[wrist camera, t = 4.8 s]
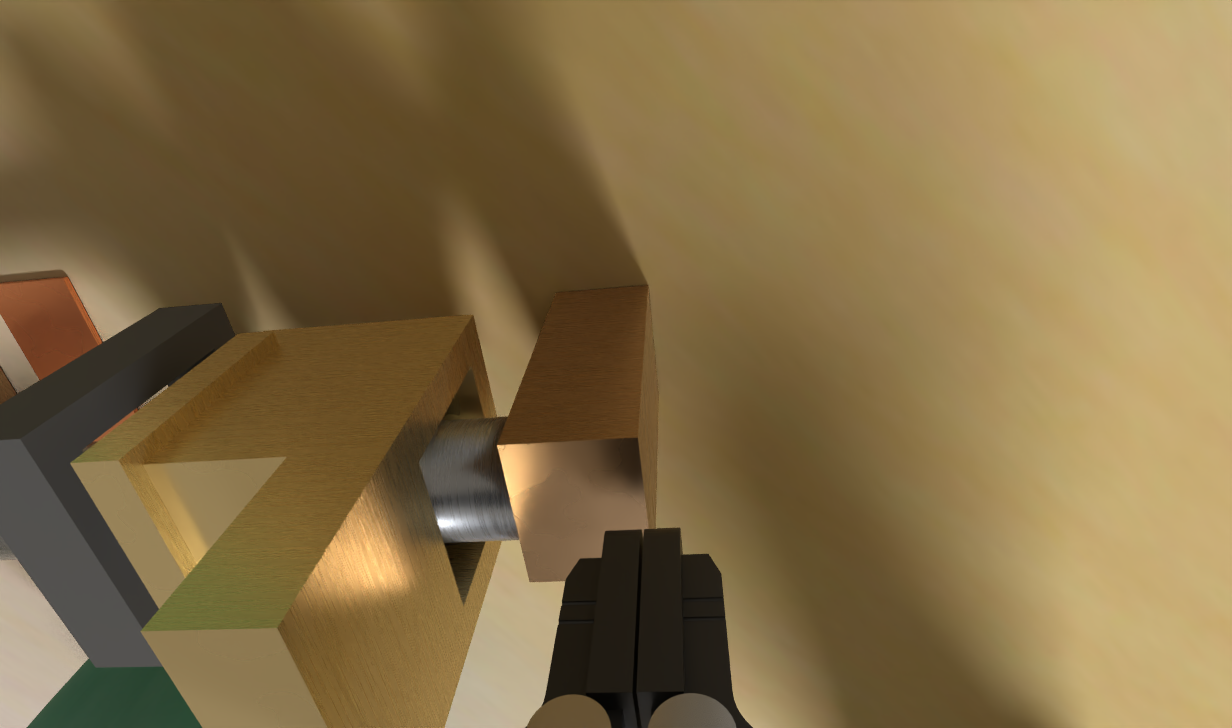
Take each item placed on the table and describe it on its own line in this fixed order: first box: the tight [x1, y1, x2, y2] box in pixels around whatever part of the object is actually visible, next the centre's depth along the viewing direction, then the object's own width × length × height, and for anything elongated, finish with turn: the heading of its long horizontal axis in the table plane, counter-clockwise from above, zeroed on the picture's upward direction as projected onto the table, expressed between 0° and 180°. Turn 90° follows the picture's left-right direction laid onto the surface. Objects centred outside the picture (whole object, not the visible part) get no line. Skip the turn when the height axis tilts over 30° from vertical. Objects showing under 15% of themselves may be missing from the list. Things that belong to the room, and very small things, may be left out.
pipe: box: [0, 277, 659, 582], centre depth 20 cm, size 27×8×8 cm, turn 97°
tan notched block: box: [70, 315, 502, 728], centre depth 15 cm, size 6×7×10 cm
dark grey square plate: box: [0, 303, 235, 668], centre depth 18 cm, size 2×7×7 cm, turn 7°
